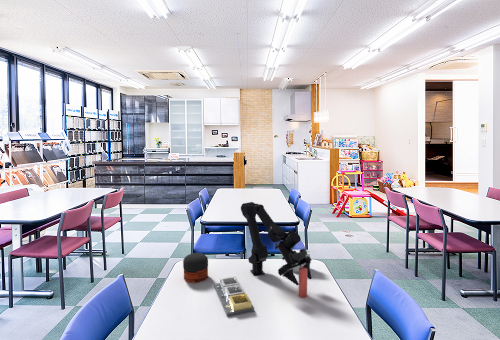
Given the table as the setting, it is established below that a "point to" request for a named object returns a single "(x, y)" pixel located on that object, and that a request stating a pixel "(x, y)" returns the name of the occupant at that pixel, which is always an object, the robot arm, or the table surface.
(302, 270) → the plug
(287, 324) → the table surface
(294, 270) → the light bulb box
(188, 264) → the oil filter
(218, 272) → the table surface
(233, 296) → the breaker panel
